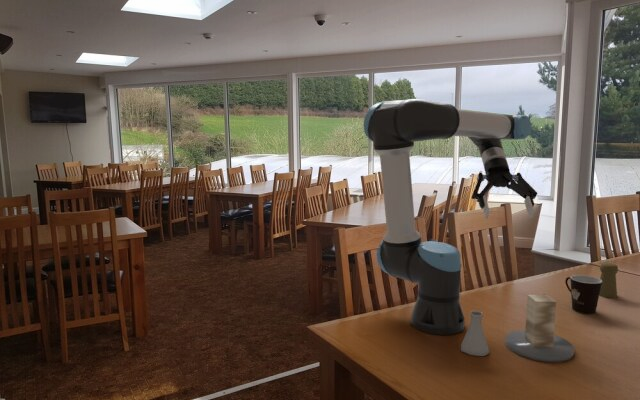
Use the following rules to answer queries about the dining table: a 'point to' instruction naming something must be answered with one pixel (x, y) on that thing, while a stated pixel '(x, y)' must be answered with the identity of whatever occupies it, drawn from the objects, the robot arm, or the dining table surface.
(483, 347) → the flask
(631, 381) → the dining table surface
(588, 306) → the coffee mug
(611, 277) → the cork
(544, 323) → the birch block
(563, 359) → the plate
